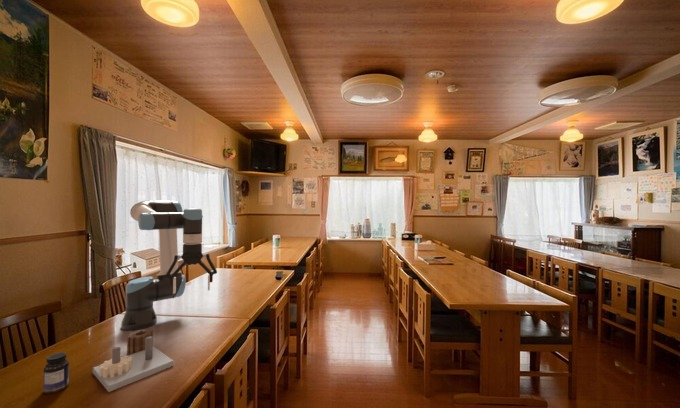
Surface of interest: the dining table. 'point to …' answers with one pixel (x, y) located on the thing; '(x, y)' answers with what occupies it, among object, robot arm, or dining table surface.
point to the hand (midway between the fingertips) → (191, 291)
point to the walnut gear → (137, 340)
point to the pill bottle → (56, 373)
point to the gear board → (131, 366)
